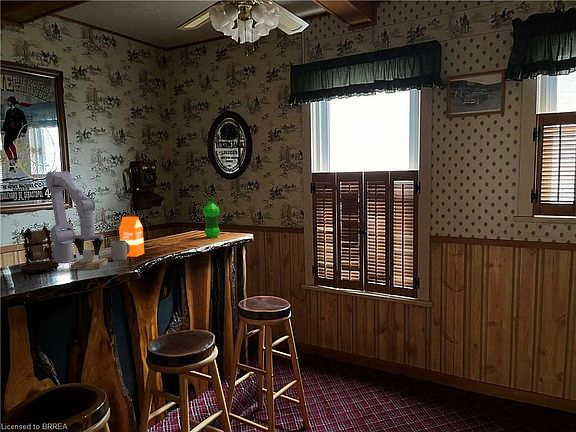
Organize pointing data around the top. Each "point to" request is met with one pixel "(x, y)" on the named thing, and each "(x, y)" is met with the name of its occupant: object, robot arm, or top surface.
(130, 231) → the orange juice
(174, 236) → the top surface
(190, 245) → the top surface
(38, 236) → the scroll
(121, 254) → the cup
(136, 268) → the top surface
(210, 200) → the plastic bottle
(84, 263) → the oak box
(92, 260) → the ceramic block
